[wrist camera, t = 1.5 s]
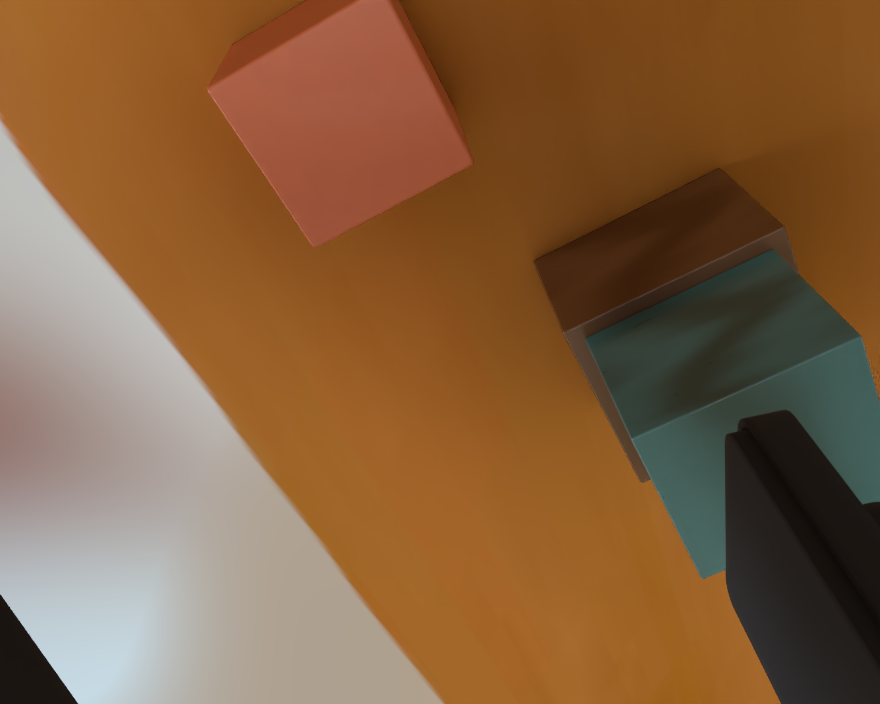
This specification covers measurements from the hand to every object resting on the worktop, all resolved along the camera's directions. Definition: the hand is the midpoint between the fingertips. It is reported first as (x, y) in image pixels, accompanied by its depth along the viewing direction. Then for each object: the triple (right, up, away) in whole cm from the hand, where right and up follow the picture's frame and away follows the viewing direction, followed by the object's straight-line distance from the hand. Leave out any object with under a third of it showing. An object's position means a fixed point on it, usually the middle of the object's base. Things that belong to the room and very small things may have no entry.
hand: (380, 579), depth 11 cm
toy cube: (-2, +11, +15) cm, 19 cm away
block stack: (+9, +5, +20) cm, 22 cm away
